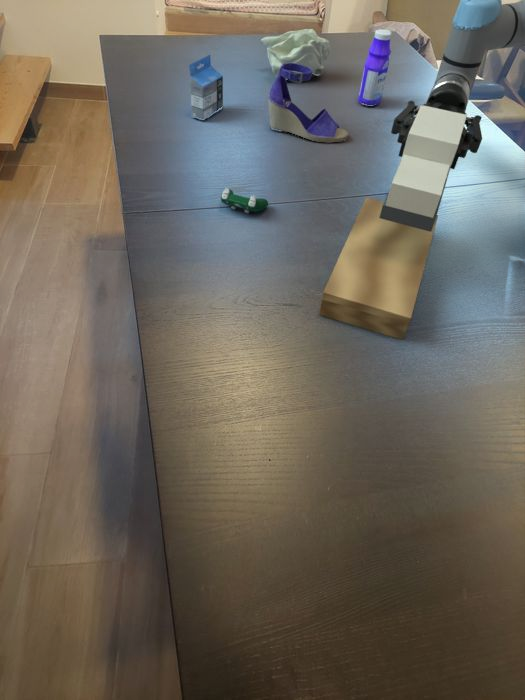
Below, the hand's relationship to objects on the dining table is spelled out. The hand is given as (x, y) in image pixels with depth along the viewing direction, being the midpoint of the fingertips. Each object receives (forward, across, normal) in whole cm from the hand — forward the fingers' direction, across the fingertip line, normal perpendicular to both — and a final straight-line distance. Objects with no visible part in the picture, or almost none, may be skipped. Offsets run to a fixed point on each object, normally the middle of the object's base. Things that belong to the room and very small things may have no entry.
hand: (428, 155), depth 85 cm
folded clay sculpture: (-65, +44, -18) cm, 81 cm away
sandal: (-34, +30, -18) cm, 49 cm away
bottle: (-59, +20, -18) cm, 65 cm away
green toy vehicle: (+3, +32, -18) cm, 37 cm away
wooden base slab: (+11, +2, -18) cm, 21 cm away
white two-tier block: (+1, 0, -6) cm, 7 cm away
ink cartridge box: (-32, +56, -18) cm, 67 cm away
